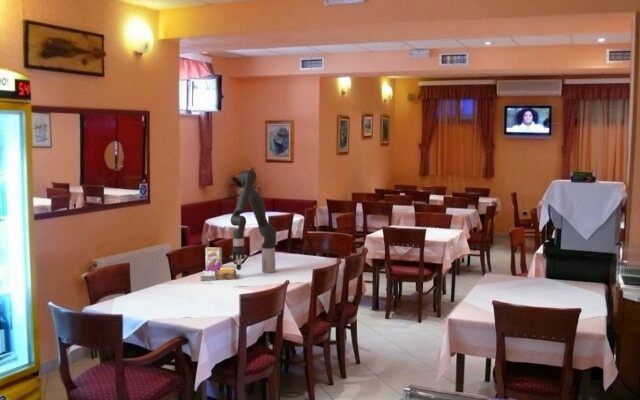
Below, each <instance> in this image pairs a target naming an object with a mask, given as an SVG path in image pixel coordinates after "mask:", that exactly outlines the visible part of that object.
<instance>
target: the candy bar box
mask: <svg viewBox="0 0 640 400" xmlns="http://www.w3.org/2000/svg"><path fill="white" fill-rule="evenodd" d="M204 250H205V251H204V254H205V255H204V261H205V262H204V263H205V264H204V267H205V271H206V272H209V271H208V270H212V271H211V272H215V270H220V268H223V257H222V256H223V251H222V250H223V248H222V247H211V246H206V247H205V248H204Z"/></svg>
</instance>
